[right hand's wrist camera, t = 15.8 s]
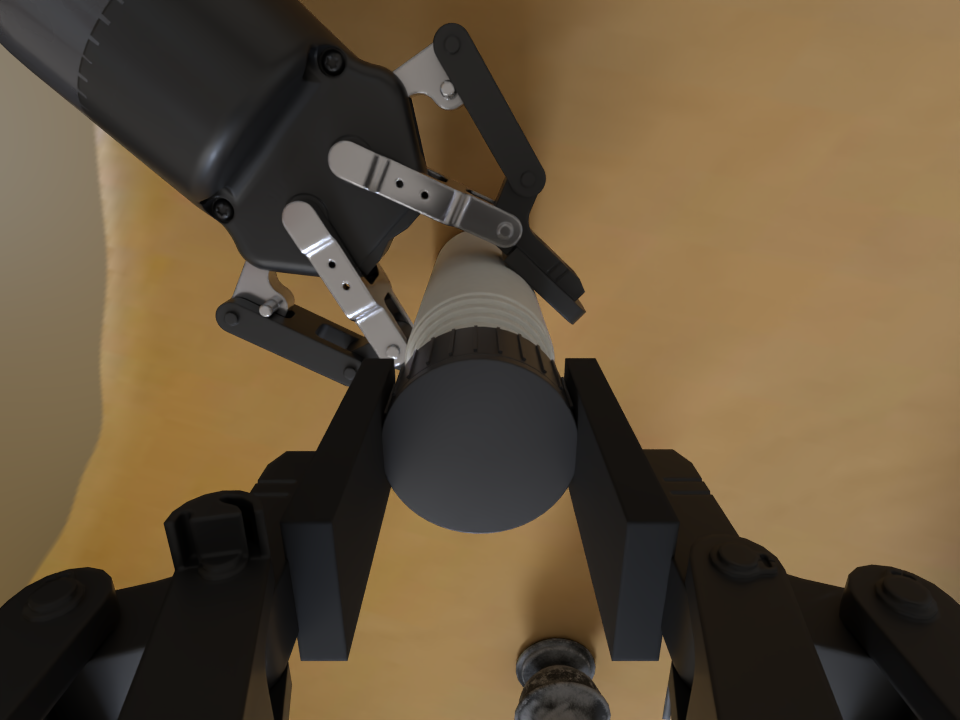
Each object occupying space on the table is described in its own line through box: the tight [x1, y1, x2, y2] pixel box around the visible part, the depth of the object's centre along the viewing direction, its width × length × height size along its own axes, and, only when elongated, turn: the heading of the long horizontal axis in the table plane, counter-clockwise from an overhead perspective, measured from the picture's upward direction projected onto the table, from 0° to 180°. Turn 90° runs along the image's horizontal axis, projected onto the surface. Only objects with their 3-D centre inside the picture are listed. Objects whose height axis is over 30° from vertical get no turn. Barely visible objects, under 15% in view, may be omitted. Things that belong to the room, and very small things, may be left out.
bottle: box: [405, 231, 555, 364], centre depth 21 cm, size 5×5×17 cm
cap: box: [382, 325, 578, 534], centre depth 14 cm, size 4×5×2 cm
